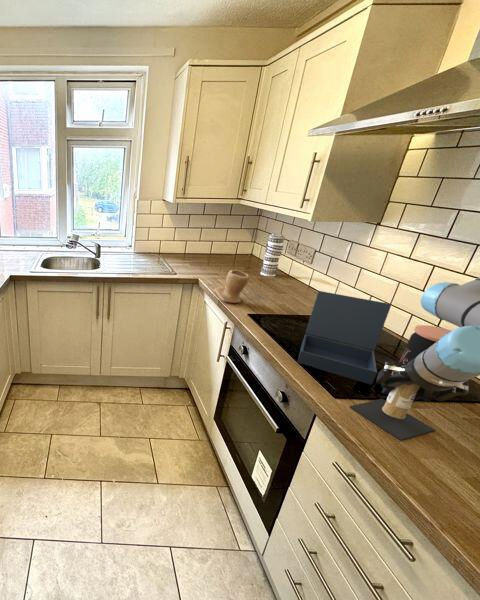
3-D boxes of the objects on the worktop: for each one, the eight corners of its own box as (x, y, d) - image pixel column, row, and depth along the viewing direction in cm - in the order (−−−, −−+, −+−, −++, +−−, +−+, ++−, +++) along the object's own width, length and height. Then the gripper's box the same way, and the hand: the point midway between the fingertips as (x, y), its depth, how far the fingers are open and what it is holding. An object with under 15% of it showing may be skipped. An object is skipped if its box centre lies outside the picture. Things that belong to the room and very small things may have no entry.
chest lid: (391, 304, 100) (391, 303, 101) (318, 290, 111) (318, 290, 112) (374, 350, 104) (374, 349, 105) (305, 333, 115) (305, 332, 116)
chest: (371, 384, 96) (377, 372, 94) (297, 362, 106) (300, 351, 105) (368, 362, 107) (373, 351, 105) (301, 344, 118) (305, 333, 116)
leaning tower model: (258, 274, 197) (267, 234, 187) (260, 271, 204) (269, 232, 194) (275, 277, 192) (285, 236, 182) (276, 273, 199) (287, 234, 189)
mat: (434, 431, 79) (435, 429, 78) (400, 441, 76) (401, 439, 75) (381, 399, 89) (382, 398, 89) (349, 407, 86) (350, 405, 86)
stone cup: (247, 305, 152) (253, 276, 146) (221, 304, 153) (226, 274, 147) (237, 294, 165) (243, 266, 160) (213, 293, 167) (218, 265, 161)
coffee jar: (394, 371, 102) (417, 321, 95) (442, 387, 94) (471, 334, 88) (388, 384, 96) (412, 332, 89) (439, 402, 88) (469, 347, 81)
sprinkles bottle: (401, 422, 79) (424, 377, 74) (378, 411, 82) (398, 368, 77) (407, 415, 81) (430, 372, 76) (385, 405, 85) (405, 362, 80)
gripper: (378, 370, 69) (352, 393, 87) (501, 404, 59) (442, 421, 77) (385, 339, 70) (358, 368, 89) (506, 367, 61) (447, 393, 79)
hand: (397, 393), depth 83 cm, fingers closed on sprinkles bottle, 4 cm apart
